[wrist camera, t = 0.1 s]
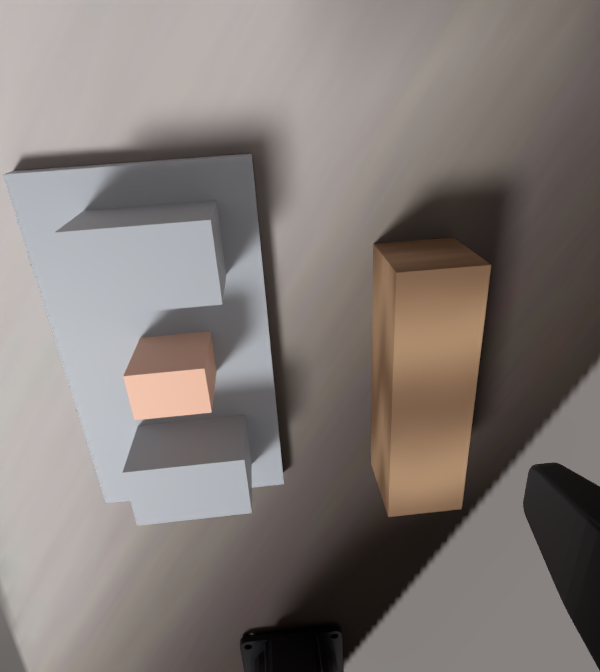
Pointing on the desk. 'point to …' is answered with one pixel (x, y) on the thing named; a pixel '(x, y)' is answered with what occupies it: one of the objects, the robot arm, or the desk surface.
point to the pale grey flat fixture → (160, 326)
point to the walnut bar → (425, 370)
